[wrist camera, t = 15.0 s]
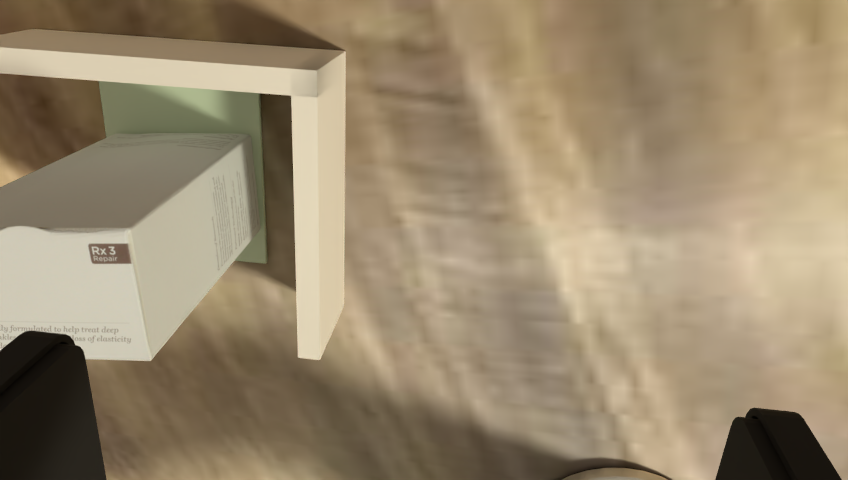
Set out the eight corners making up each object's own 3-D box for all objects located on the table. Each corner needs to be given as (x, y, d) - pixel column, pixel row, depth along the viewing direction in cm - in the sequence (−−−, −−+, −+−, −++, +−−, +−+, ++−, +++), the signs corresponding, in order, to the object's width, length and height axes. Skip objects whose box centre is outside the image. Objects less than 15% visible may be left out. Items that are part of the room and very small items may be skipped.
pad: (267, 261, 41) (266, 263, 41) (124, 247, 42) (121, 249, 42) (259, 77, 37) (257, 78, 37) (99, 65, 37) (96, 66, 37)
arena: (344, 305, 42) (320, 360, 36) (75, 278, 43) (13, 327, 38) (345, 50, 36) (317, 70, 30) (33, 28, 37) (-49, 43, 32)
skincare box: (134, 224, 41) (-50, 364, 27) (114, 125, 38) (-98, 224, 25) (270, 228, 40) (150, 374, 26) (259, 126, 38) (121, 230, 24)
